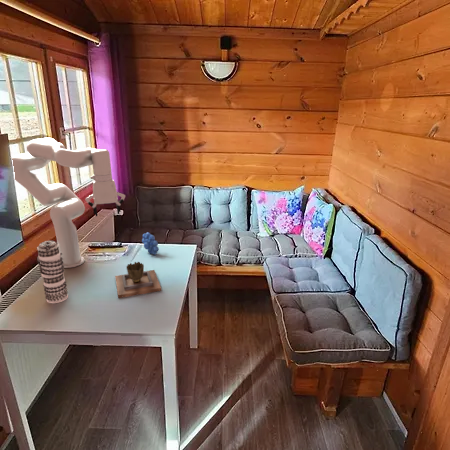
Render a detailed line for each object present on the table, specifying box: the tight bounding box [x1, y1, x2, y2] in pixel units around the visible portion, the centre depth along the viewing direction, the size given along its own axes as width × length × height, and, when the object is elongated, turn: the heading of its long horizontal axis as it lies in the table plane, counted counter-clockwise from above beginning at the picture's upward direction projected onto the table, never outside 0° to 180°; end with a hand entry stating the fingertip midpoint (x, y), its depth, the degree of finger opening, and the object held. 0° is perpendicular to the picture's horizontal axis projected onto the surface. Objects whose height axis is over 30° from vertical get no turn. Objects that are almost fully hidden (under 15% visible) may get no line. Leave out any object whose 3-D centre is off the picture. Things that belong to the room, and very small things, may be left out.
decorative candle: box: [36, 240, 69, 304], centre depth 143 cm, size 9×9×25 cm
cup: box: [125, 261, 145, 283], centre depth 156 cm, size 8×7×8 cm
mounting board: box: [114, 269, 162, 299], centre depth 158 cm, size 18×18×3 cm
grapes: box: [141, 231, 160, 255], centre depth 187 cm, size 12×7×12 cm, turn 54°
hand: (107, 214), depth 162 cm, fingers open, 9 cm apart
